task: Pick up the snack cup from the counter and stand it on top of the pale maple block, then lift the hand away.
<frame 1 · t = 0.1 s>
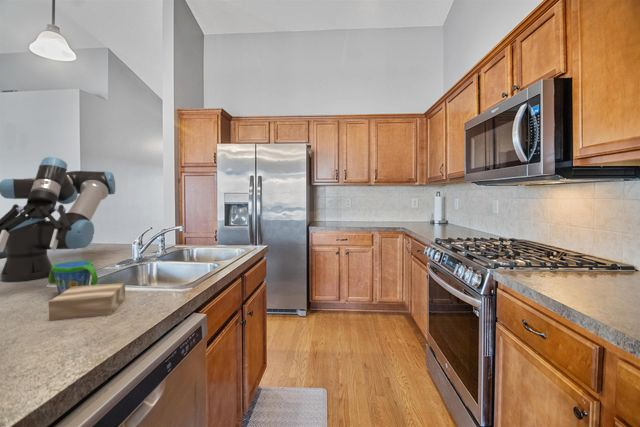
hand: (26, 249, 98), 15 cm above the counter, tool tilted 35°, fingers open, 13 cm apart
snack cup: (74, 294, 102), on the counter
maple block: (91, 308, 90), on the counter
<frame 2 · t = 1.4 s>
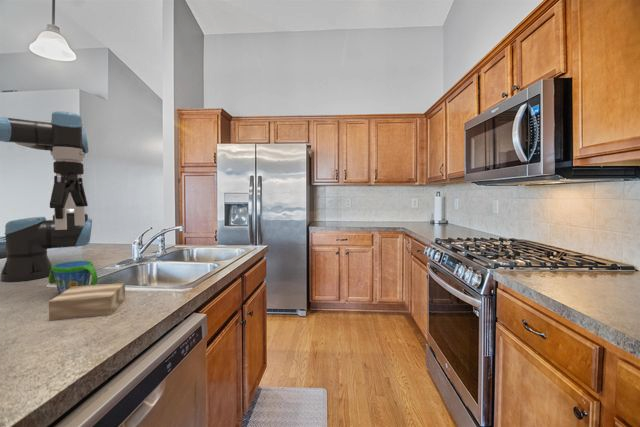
hand: (71, 227, 100), 22 cm above the counter, tool pointing down, fingers open, 13 cm apart
nothing on the counter moved.
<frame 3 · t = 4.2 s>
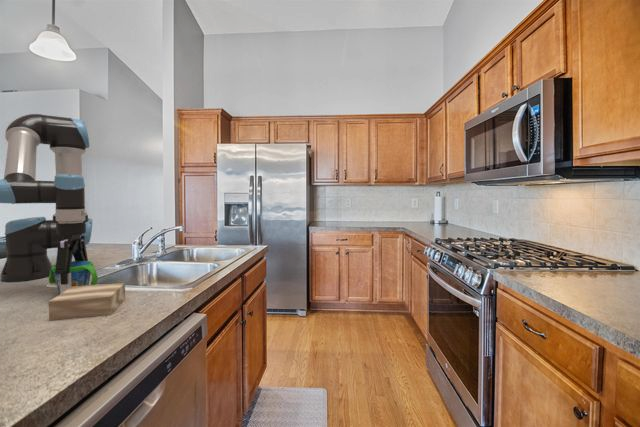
hand: (73, 288, 102), 2 cm above the counter, tool pointing down, fingers closed on snack cup, 10 cm apart
snack cup: (74, 294, 102), on the counter, touching gripper
when the fingers open (8 cm above the counter, at t = 11.4 s): snack cup drops 1 cm, resting on maple block.
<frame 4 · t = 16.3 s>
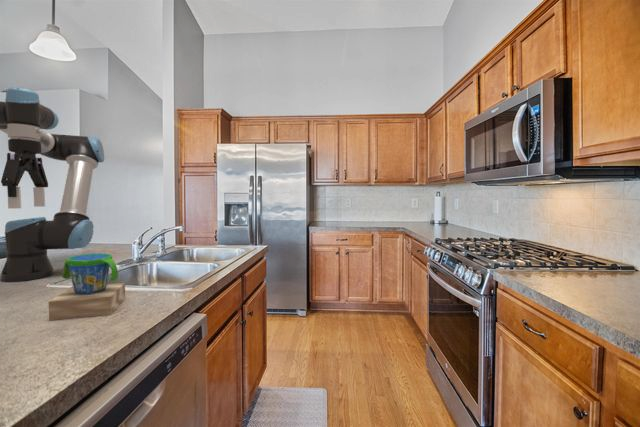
hand: (28, 207, 98), 29 cm above the counter, tool pointing down, fingers open, 13 cm apart
snack cup: (91, 291, 90), point 5 cm above the counter, touching maple block
at the end: snack cup inside the target area on the maple block (0.3 cm from its centre), point 4.8 cm above the maple block's base; snack cup tilted 0°; the gripper is holding nothing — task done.
